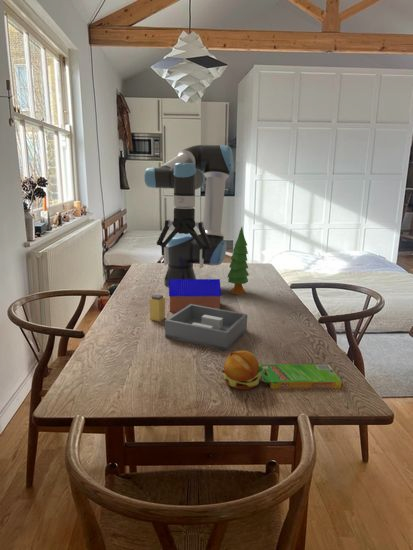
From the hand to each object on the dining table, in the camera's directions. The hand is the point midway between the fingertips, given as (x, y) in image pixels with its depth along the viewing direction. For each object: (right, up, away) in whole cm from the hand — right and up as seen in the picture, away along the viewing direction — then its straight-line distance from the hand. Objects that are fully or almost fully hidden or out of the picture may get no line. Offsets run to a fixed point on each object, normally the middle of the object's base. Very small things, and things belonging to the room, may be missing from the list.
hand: (183, 265), depth 153 cm
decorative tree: (+22, -11, +33) cm, 41 cm away
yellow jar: (-10, -20, 0) cm, 22 cm away
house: (+3, -17, +13) cm, 21 cm away
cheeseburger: (+18, -32, -43) cm, 57 cm away
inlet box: (+9, -23, -13) cm, 28 cm away
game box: (+33, -32, -40) cm, 61 cm away
